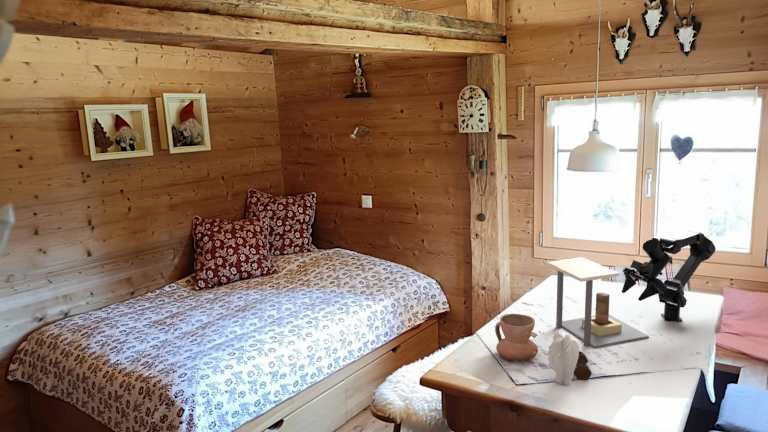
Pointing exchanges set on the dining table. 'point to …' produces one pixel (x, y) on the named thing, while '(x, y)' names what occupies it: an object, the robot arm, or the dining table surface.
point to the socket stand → (590, 306)
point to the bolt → (582, 368)
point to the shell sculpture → (563, 357)
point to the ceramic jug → (516, 337)
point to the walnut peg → (602, 309)
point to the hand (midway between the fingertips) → (630, 296)
